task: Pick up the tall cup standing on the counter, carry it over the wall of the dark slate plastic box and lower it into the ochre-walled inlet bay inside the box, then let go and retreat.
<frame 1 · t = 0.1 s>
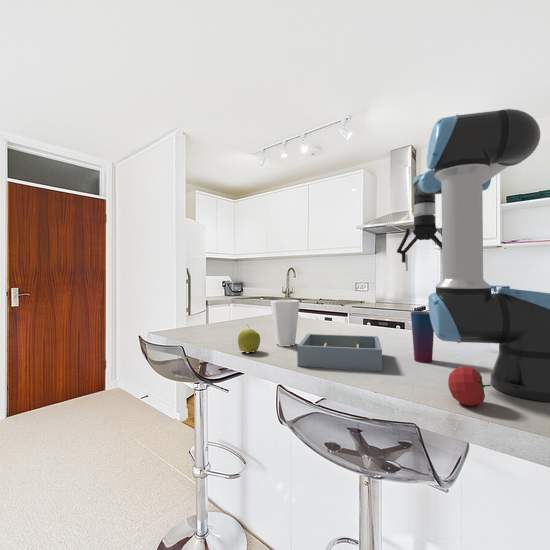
hand: (425, 270, 126), 28 cm above the worktop, fingers open, 13 cm apart
cup 2: (285, 345, 127), on the worktop
tomato: (469, 405, 68), on the worktop
cup: (423, 361, 102), on the worktop
apple: (249, 352, 116), on the worktop
walled box: (340, 359, 104), on the worktop
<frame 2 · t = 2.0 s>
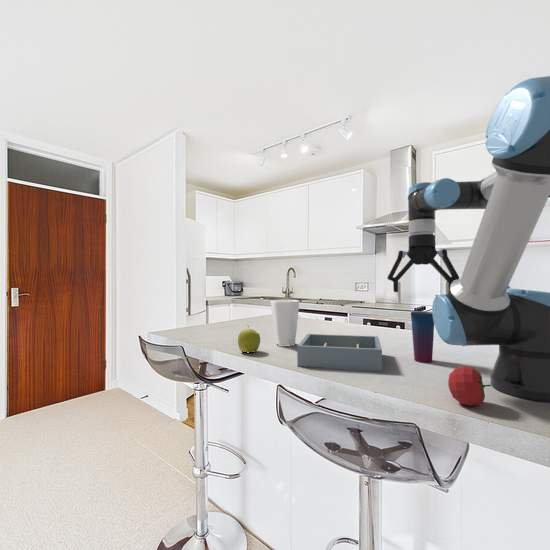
hand: (422, 303, 102), 18 cm above the worktop, fingers open, 13 cm apart
nothing on the worktop moved.
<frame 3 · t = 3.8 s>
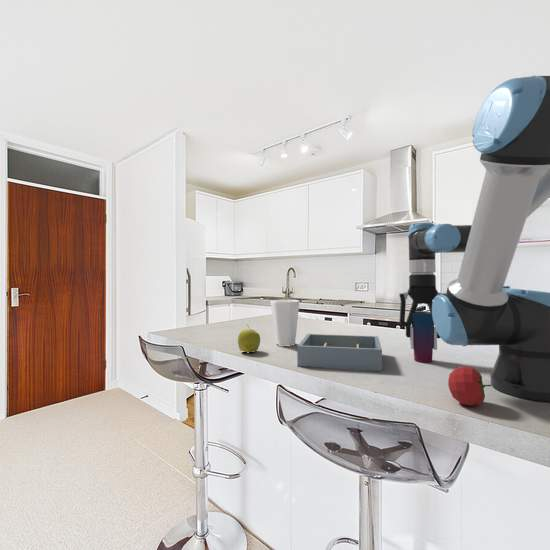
hand: (423, 348, 102), 4 cm above the worktop, fingers closed on cup, 6 cm apart
cup: (423, 361, 102), on the worktop, touching gripper
everything else where it was.
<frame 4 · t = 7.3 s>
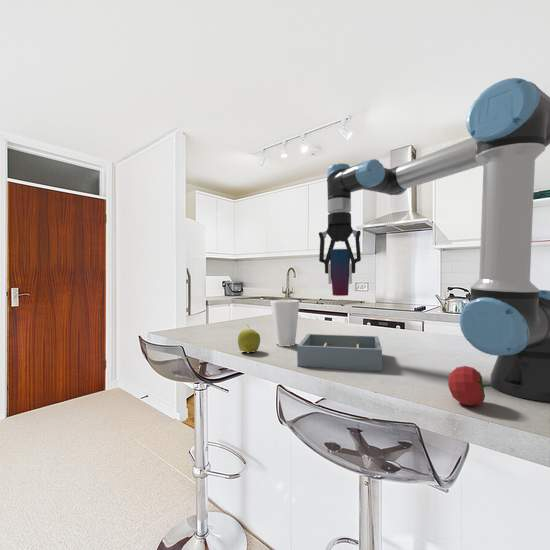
hand: (340, 283, 108), 24 cm above the worktop, fingers closed on cup, 6 cm apart
cup: (340, 295, 108), point 20 cm above the worktop, touching gripper
everything else where it was.
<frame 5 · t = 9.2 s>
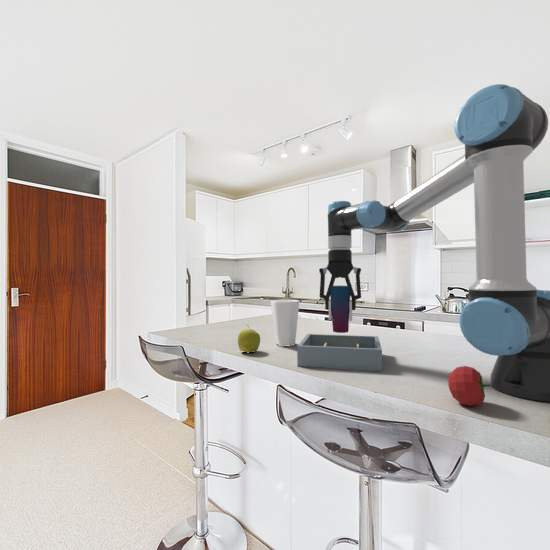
hand: (340, 319, 108), 12 cm above the worktop, fingers closed on cup, 6 cm apart
cup: (340, 332, 108), point 8 cm above the worktop, touching gripper
everything else where it was.
when the fingers open (6 cm above the worktop, at t = 10.8 s): cup drops 1 cm, resting on walled box.
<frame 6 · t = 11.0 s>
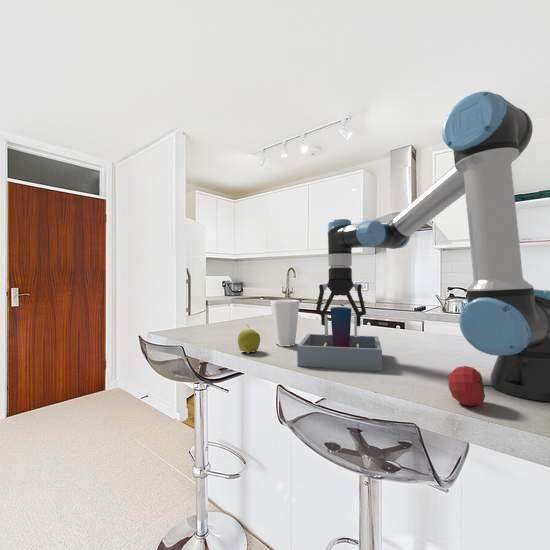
hand: (340, 335, 108), 7 cm above the worktop, fingers open, 9 cm apart
cup: (341, 354, 108), point 1 cm above the worktop, touching walled box
everything else where it was.
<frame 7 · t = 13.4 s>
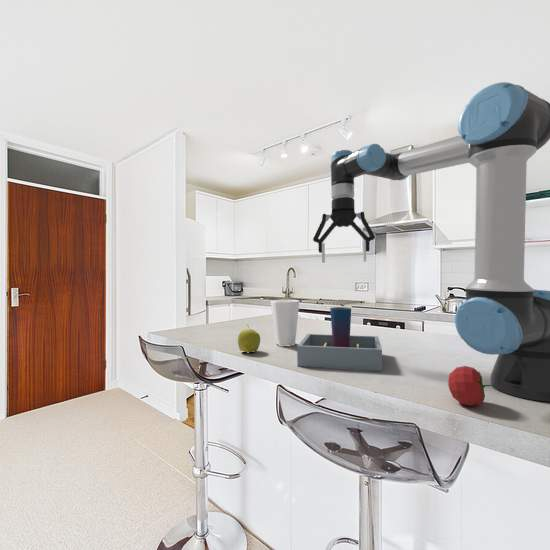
hand: (343, 262, 110), 31 cm above the worktop, fingers open, 13 cm apart
nothing on the worktop moved.
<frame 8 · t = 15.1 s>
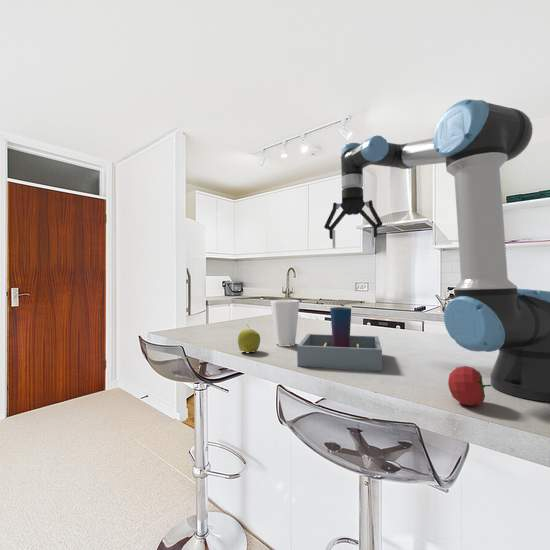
hand: (353, 247, 119), 37 cm above the worktop, fingers open, 13 cm apart
nothing on the worktop moved.
at the end: cup inside the target area on the walled box (0.1 cm from its centre), point 0.8 cm above the walled box's base; cup tilted 0°; the gripper is holding nothing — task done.
